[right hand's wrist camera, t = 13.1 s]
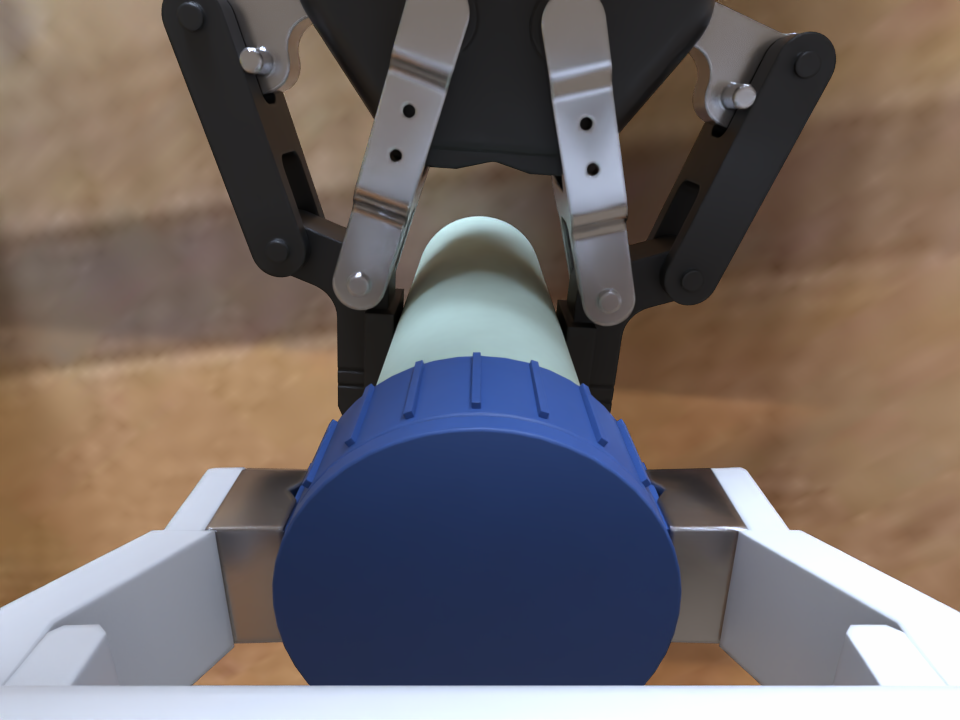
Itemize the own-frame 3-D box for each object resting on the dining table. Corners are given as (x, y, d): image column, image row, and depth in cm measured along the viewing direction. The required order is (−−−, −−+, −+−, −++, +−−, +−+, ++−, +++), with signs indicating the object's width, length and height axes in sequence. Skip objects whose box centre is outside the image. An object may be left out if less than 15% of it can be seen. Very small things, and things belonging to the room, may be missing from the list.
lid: (684, 377, 9) (740, 458, 7) (603, 652, 11) (630, 778, 9) (321, 325, 9) (275, 392, 7) (300, 616, 11) (259, 736, 9)
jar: (550, 226, 22) (674, 469, 8) (527, 341, 24) (598, 720, 9) (427, 206, 22) (327, 420, 8) (411, 324, 23) (305, 686, 9)
